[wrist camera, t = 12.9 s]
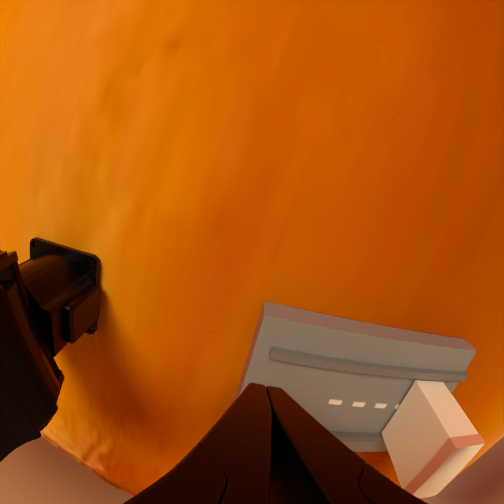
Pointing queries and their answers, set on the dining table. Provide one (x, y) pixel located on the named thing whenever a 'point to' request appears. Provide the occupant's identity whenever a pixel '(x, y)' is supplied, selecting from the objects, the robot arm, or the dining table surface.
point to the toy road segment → (348, 368)
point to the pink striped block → (429, 439)
